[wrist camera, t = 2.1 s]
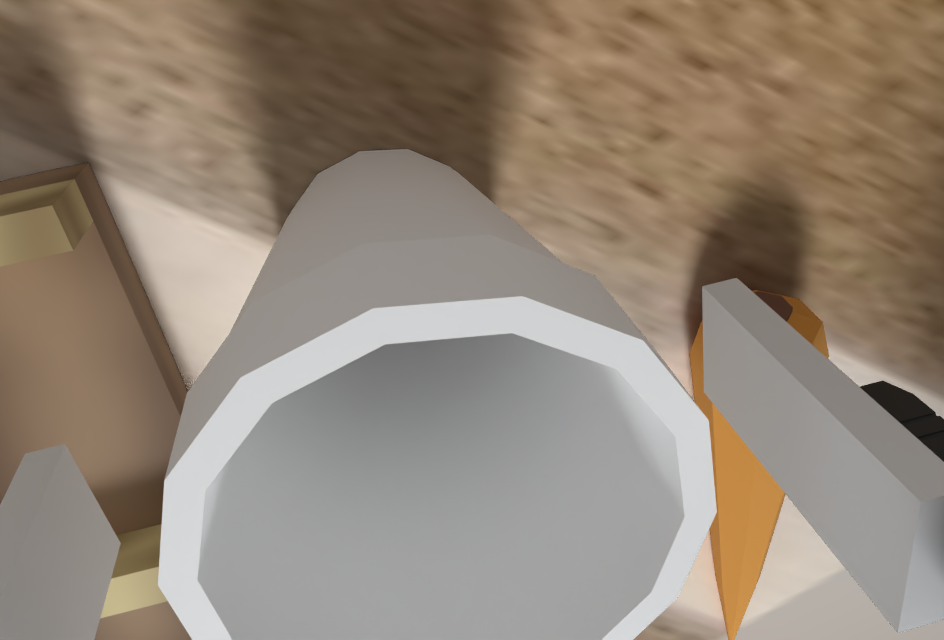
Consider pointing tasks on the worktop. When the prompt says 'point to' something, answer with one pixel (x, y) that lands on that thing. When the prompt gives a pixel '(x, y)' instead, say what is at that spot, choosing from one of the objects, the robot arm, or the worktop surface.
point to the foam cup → (429, 435)
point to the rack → (89, 376)
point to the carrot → (744, 479)
